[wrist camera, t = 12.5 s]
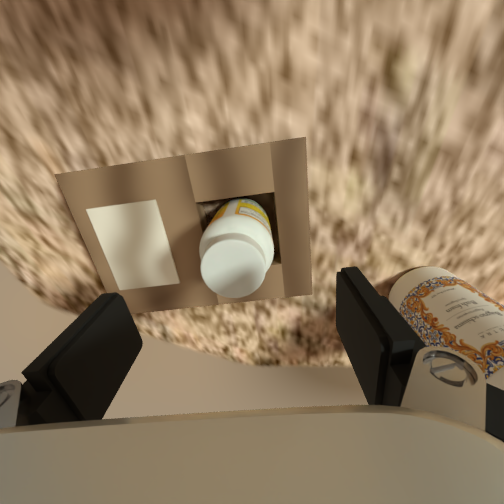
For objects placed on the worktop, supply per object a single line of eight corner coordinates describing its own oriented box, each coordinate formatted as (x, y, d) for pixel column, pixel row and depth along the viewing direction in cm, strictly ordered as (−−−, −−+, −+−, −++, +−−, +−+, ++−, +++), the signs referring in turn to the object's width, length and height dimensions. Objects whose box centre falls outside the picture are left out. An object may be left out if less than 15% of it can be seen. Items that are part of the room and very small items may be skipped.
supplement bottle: (264, 192, 22) (271, 220, 13) (273, 245, 24) (284, 300, 15) (207, 202, 22) (177, 236, 14) (220, 254, 24) (202, 313, 16)
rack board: (299, 138, 20) (306, 136, 18) (307, 281, 26) (312, 295, 23) (75, 171, 21) (52, 174, 19) (128, 301, 27) (115, 316, 24)
